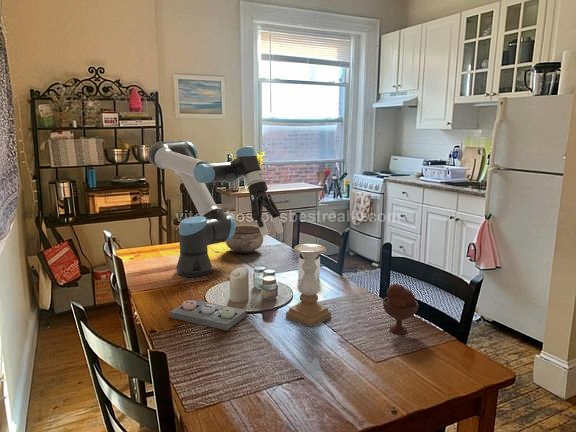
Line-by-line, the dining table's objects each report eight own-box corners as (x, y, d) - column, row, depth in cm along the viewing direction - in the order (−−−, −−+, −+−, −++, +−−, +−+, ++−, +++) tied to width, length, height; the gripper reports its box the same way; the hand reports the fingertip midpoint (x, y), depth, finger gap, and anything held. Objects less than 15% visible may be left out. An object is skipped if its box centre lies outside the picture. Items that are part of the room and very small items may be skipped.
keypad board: (169, 317, 147) (169, 311, 146) (192, 304, 157) (191, 299, 157) (227, 330, 138) (226, 324, 137) (246, 315, 148) (246, 310, 148)
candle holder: (331, 317, 148) (333, 247, 143) (310, 327, 140) (312, 254, 136) (306, 308, 155) (308, 241, 151) (285, 317, 148) (285, 247, 143)
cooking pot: (217, 248, 229) (217, 225, 227) (251, 244, 238) (251, 221, 236) (236, 261, 208) (236, 236, 206) (272, 256, 217) (272, 231, 214)
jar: (323, 280, 184) (324, 252, 182) (308, 284, 179) (309, 255, 176) (308, 274, 191) (309, 247, 188) (294, 278, 186) (294, 250, 183)
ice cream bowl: (397, 341, 131) (400, 293, 128) (373, 327, 141) (375, 281, 138) (424, 334, 136) (427, 288, 133) (399, 320, 146) (402, 276, 143)
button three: (198, 315, 146) (198, 307, 146) (206, 310, 150) (206, 302, 150) (210, 317, 144) (209, 309, 144) (217, 312, 148) (217, 305, 148)
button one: (218, 319, 143) (218, 311, 143) (225, 314, 147) (225, 306, 147) (229, 321, 141) (229, 314, 141) (237, 316, 145) (237, 309, 145)
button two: (180, 310, 149) (180, 303, 149) (188, 306, 153) (188, 299, 153) (191, 313, 148) (190, 305, 147) (199, 308, 151) (198, 301, 151)
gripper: (248, 179, 166) (266, 233, 164) (277, 181, 189) (293, 228, 187) (232, 186, 169) (250, 239, 167) (262, 187, 192) (278, 234, 190)
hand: (273, 233), depth 177 cm, fingers open, 13 cm apart
